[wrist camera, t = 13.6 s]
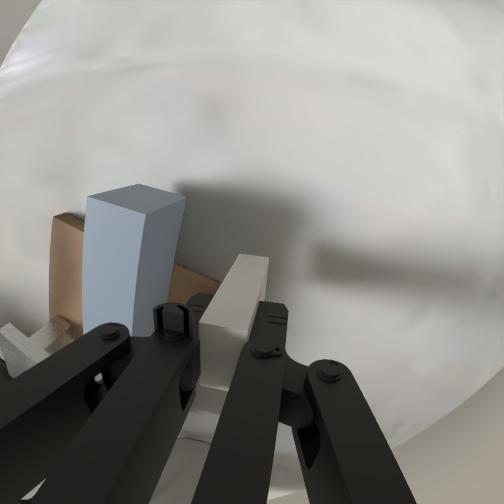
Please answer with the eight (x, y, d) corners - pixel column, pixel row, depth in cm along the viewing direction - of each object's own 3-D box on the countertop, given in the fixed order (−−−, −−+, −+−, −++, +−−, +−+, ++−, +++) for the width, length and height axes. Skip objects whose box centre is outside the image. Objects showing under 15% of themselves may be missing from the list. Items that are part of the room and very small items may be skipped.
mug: (252, 468, 26) (236, 550, 16) (201, 479, 29) (179, 547, 18) (171, 409, 24) (127, 501, 14) (127, 427, 27) (86, 497, 16)
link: (170, 412, 22) (150, 454, 18) (107, 383, 22) (80, 419, 18) (213, 205, 16) (180, 225, 11) (117, 178, 16) (64, 189, 12)
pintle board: (60, 343, 24) (16, 385, 17) (65, 212, 19) (-7, 239, 12) (177, 407, 24) (149, 469, 17) (223, 284, 19) (184, 352, 12)
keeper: (58, 329, 21) (6, 375, 14) (58, 284, 20) (-6, 327, 13) (99, 355, 21) (50, 410, 14) (102, 310, 20) (41, 366, 13)
